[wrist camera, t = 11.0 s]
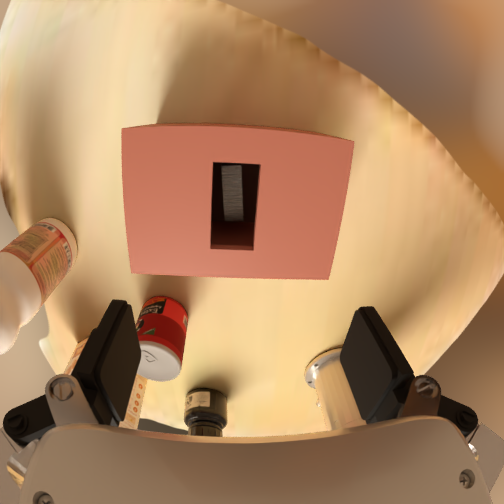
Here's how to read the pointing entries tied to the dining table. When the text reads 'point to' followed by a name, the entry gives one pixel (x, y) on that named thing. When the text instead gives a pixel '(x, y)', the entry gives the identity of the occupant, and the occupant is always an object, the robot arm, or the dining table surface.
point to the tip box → (254, 200)
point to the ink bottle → (205, 412)
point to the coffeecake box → (136, 393)
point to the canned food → (161, 338)
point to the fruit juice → (32, 274)
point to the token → (232, 191)
